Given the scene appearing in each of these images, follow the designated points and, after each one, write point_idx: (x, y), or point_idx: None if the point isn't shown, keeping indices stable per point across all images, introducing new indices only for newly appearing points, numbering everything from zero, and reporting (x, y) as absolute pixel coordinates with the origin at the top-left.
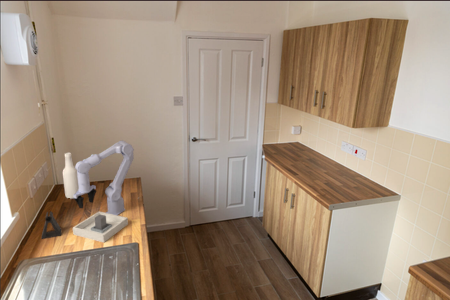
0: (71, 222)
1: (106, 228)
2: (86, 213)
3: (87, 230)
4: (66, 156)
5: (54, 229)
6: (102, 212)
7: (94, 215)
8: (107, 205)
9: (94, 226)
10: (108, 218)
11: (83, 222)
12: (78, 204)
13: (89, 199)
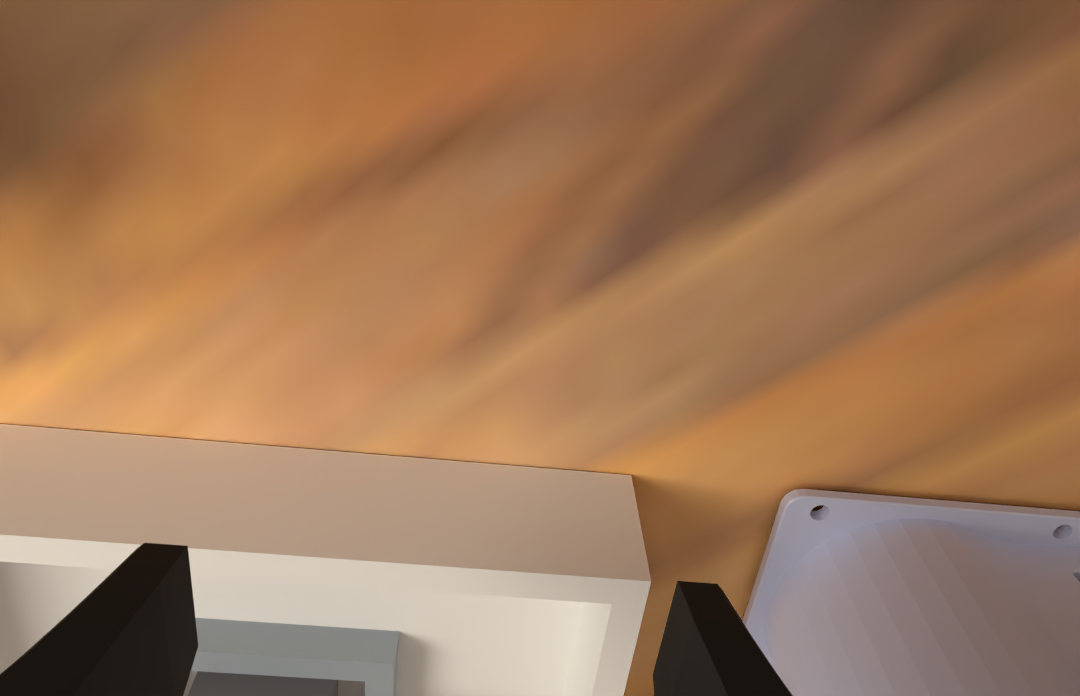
0: (213, 23)
1: None
2: (757, 82)
3: (101, 571)
4: None
5: None
6: (615, 661)
7: (447, 586)
8: (885, 688)
9: (204, 663)
10: (571, 685)
11: (87, 556)
12: (46, 665)
13: (700, 684)
